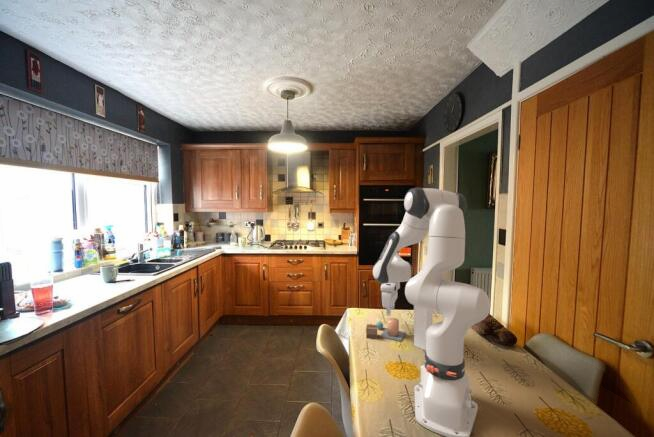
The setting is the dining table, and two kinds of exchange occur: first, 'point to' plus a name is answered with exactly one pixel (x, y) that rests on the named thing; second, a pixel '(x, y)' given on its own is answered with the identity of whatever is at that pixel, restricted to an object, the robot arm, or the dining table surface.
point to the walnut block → (371, 331)
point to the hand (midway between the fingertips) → (390, 311)
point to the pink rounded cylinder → (393, 327)
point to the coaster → (398, 338)
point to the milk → (421, 326)
